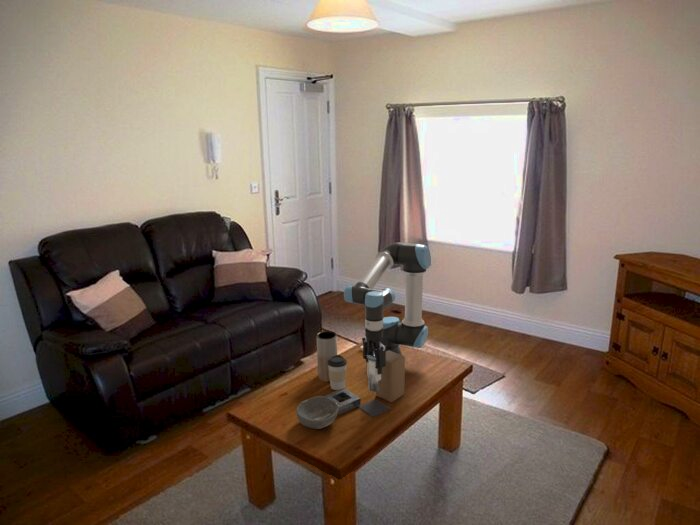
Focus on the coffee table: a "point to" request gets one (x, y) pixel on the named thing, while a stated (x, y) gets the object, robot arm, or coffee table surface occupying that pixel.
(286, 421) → the coffee table surface
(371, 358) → the silver domed cylinder
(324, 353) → the planter
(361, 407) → the mat
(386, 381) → the wooden block
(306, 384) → the coffee table surface
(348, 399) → the frame
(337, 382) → the coffee cup
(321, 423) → the bowl
